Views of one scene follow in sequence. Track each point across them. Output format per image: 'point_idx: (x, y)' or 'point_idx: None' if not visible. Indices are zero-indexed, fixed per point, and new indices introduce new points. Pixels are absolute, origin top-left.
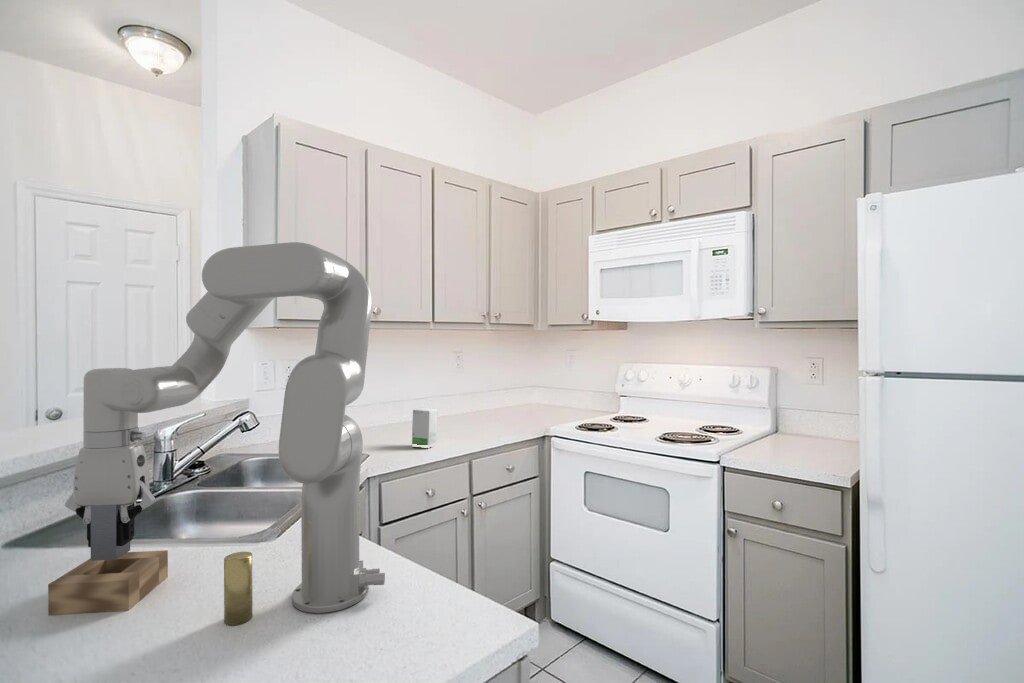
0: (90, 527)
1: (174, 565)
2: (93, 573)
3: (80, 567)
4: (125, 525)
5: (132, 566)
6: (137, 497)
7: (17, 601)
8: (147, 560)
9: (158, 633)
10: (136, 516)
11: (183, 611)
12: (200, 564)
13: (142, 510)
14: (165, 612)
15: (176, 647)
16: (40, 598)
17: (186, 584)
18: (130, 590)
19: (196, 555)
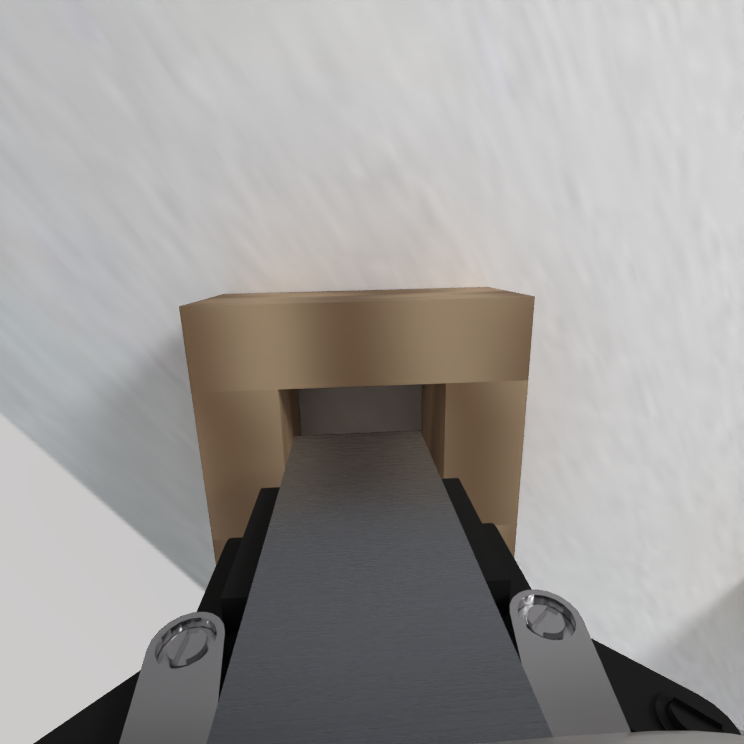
0: None
1: (462, 166)
2: (288, 454)
3: (225, 466)
4: None
5: (458, 472)
6: (656, 733)
7: (56, 434)
8: (493, 415)
9: (612, 620)
10: (564, 615)
11: (637, 528)
12: (574, 168)
13: (669, 686)
14: (588, 530)
15: (675, 669)
16: (120, 419)
17: (583, 358)
18: None
19: (517, 44)
